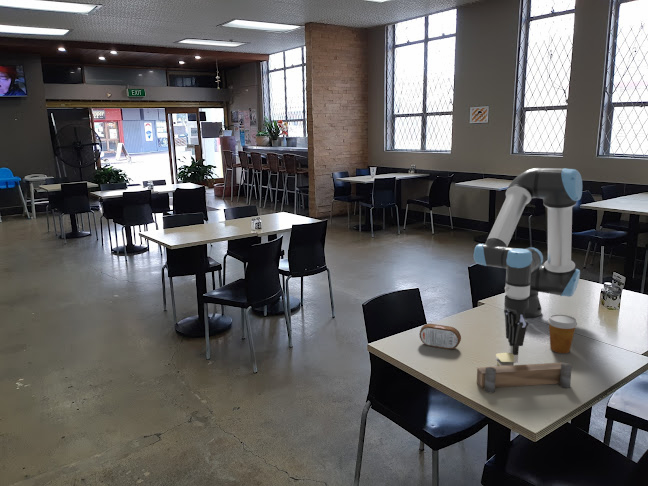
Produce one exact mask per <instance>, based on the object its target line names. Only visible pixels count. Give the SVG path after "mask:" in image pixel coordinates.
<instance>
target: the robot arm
mask: <svg viewBox="0 0 648 486" xmlns="http://www.w3.org/2000/svg"><path fill="white" fill-rule="evenodd" d="M582 194H583V178H582V175H581V173H580V172H579V170H577V169H575V168H567V167H564V168H554V167H553V168H551V167H550V168H549V167H545V168H544V167H542V168H541V167H534V168H533V167H532V168H530V169H527V170H525V171H523V172H522V173H520V174H518V176H516V177H515V178H514V179H513V180H511V182H510V183H509V185H508V187H507V189H506V191H505V200H504V202H503V204H502V206H501V208H500V210H499V212H498V215H497V217H496V219H495V221H494V224H493V226H492V228H491V230H490V232H489V234H488V237H487V238H486V241H485V243H478V244H477V245H475V247H474V251H473V260H474V262H475V263H476V264H477V265H481V266H484V267H494V268H501V269H505V272H506V273H505V286H504V294H505V295H504V303H503V305H504V306H503V313H504V321H505V325H504V326H505V338H506V340H507V341H508V353H511V354H513V355H514V364H517V363H519V348H520V347H523V346H524V342H525V338H526V337H525V336H526V331H527V329H528V327H529V322H528V321H525V318H526V319H530V318H538V317H540V316H542V309H543V308H542V305H541V302H540V298H539V293H542V294H543V293H545V294H550V295H556V296H560V297H573V295H574V294H575V293H576V291H577V288H578V284H579V280H580V276H581V270H580V269H578V268H576V263H575V262H574V261H573V260H572V235H573V233H572V231H573V229H572V227H573V226H572V225H573V208H574V207H575V206H576V205H577V202H578V201H580V200H581V198H582ZM532 199H542V202H543V206H544V207H545V208H547V260H546V261H545V262H544V256H543V253H542V252H541V250H539V249H538V248H535V247H526V248H516V247H510V246H509V244H510V241H511V239H512V238H513V235H514V234H515V233H514V232H515V230H516V228H517V225H518V223H519V221H520V219H521V217H522V214H523V212H524V209H525V207H526V206H527V205H528V204H529V203H530V202H531V201H532ZM508 246H509V247H508ZM543 262H544V263H543Z"/></svg>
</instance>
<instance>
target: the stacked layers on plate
mask: <svg viewBox="0 0 648 486" xmlns="http://www.w3.org/2000/svg"><path fill="white" fill-rule="evenodd" d="M495 356H496V357H495V361H496V363H495V364H494V366H511V365H515V363H514V355H513V354H511V353H509V352H500V353H499V352H498V353H496V354H495Z"/></svg>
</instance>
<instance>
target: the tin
mask: <svg viewBox="0 0 648 486" xmlns="http://www.w3.org/2000/svg"><path fill="white" fill-rule="evenodd" d="M418 336H419V339H420V341H421V342H422V343H423V344H424V345H426V346H427V347H431V348H433V347H434V348H439V349H445V350H454V349H456V348H457V347H458V346H459V344H460V343H461V341H462V336H461V333H460V331H459V330H458V329H457V328H456V327H453V326H449V325H442V324H436V323H426V324H424V325H422V326H421V328H420V331H419V335H418Z"/></svg>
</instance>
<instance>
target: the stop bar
mask: <svg viewBox="0 0 648 486" xmlns="http://www.w3.org/2000/svg"><path fill="white" fill-rule="evenodd" d="M572 368H573V365H572V364H571V363H569V362H561V361H560V362H550V363H549V362H548V363H547V362H546V363H530V364H529V363H528V364H514V365H511V366H495V365H494V366H483V367H481V366H480V367H479V366H478V367H477V368H476V383H477V384H478V386H479V387H480V389H484V392H486V393H490V394H493V393H495V392H496V388H505V387H507V388H509V387H525V386H539V385H550V384H551V385H554V384H556V385H557V384H558V385H559V387H561V388H564V389H569V388H570V387H571V381H572V371H573V370H572Z"/></svg>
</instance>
